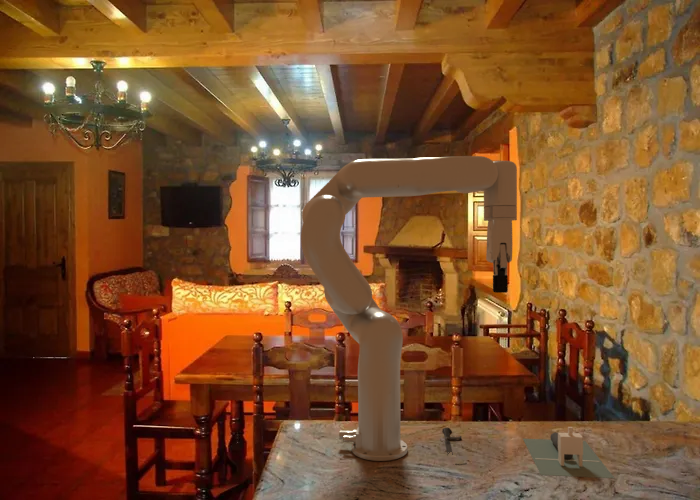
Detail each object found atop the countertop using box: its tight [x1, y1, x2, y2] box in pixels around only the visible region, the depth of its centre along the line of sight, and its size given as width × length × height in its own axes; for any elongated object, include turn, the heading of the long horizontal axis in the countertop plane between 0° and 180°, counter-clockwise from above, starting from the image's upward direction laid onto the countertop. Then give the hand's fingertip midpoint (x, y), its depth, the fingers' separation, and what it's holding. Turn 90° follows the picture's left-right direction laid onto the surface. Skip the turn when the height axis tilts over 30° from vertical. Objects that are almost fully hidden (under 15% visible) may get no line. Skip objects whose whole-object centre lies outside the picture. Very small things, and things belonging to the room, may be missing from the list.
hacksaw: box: [441, 427, 468, 466], centre depth 127 cm, size 24×10×2 cm, turn 175°
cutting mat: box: [522, 438, 615, 479], centre depth 121 cm, size 14×20×1 cm
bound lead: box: [549, 432, 573, 460], centre depth 123 cm, size 2×10×2 cm, turn 173°
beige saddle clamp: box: [557, 426, 584, 466], centre depth 116 cm, size 4×2×8 cm, turn 83°
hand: (500, 292), depth 132 cm, fingers closed
